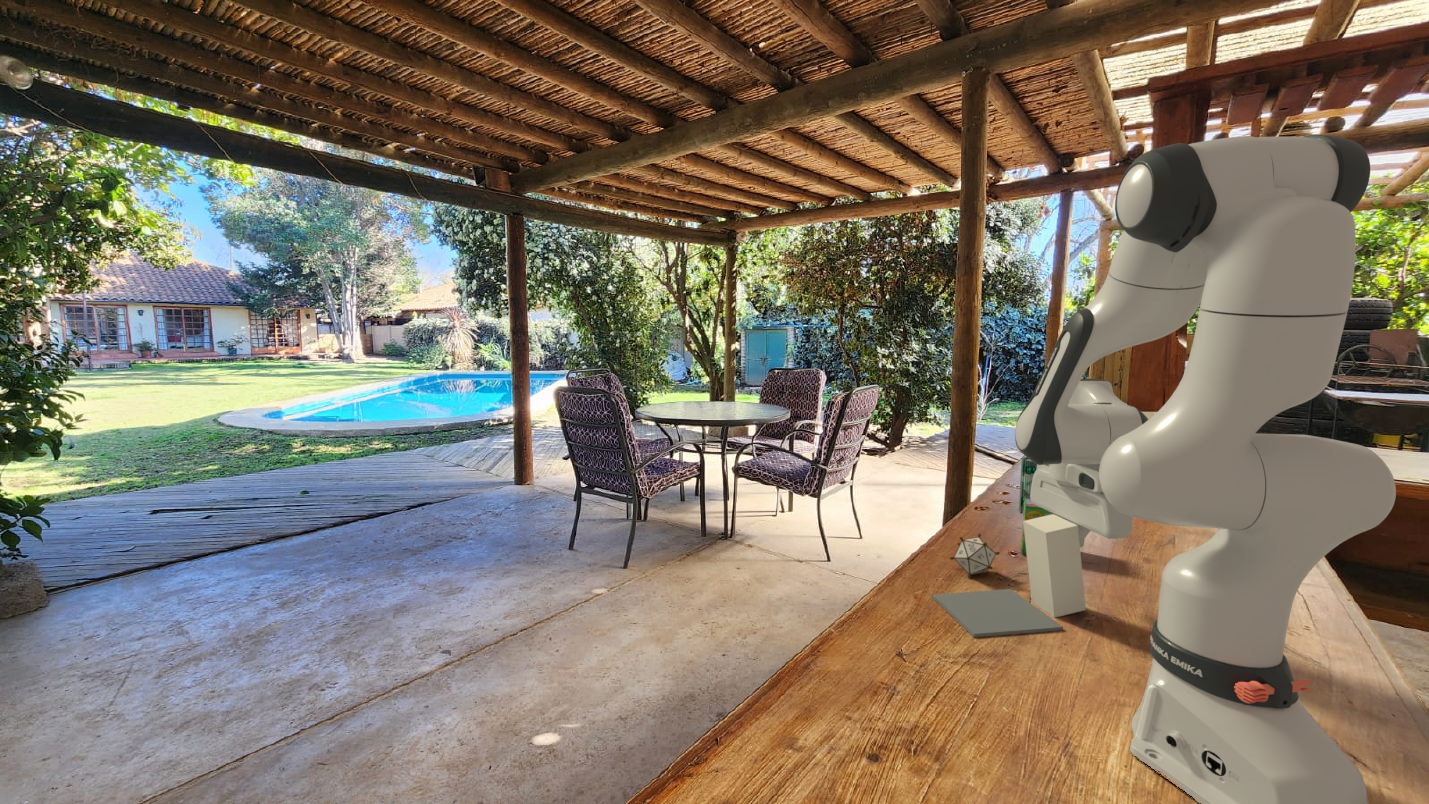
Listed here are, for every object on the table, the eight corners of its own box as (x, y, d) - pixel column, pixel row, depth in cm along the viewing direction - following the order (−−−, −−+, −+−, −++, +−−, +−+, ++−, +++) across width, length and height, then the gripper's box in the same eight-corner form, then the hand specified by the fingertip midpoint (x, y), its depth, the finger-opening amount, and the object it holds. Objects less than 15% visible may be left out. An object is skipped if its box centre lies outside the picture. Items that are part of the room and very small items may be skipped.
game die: (982, 594, 116) (1008, 569, 109) (942, 577, 117) (965, 551, 110) (982, 559, 122) (1006, 533, 115) (944, 543, 123) (966, 517, 117)
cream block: (1086, 609, 99) (1078, 525, 97) (1054, 617, 99) (1045, 532, 96) (1062, 594, 105) (1054, 514, 103) (1031, 601, 105) (1023, 521, 102)
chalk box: (1021, 555, 125) (1024, 491, 123) (1020, 541, 133) (1023, 481, 131) (1069, 563, 121) (1074, 497, 119) (1065, 548, 129) (1070, 486, 127)
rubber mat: (1062, 630, 95) (1063, 626, 95) (973, 637, 93) (973, 633, 93) (1010, 591, 108) (1010, 589, 108) (932, 597, 107) (932, 594, 107)
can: (1022, 515, 151) (1025, 461, 149) (1017, 508, 157) (1020, 456, 155) (1047, 517, 150) (1050, 462, 148) (1041, 510, 155) (1044, 457, 153)
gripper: (1023, 457, 109) (1019, 525, 110) (1107, 485, 89) (1101, 568, 90) (1053, 455, 109) (1049, 523, 111) (1143, 484, 89) (1136, 566, 91)
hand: (1073, 544), depth 101 cm, fingers closed
